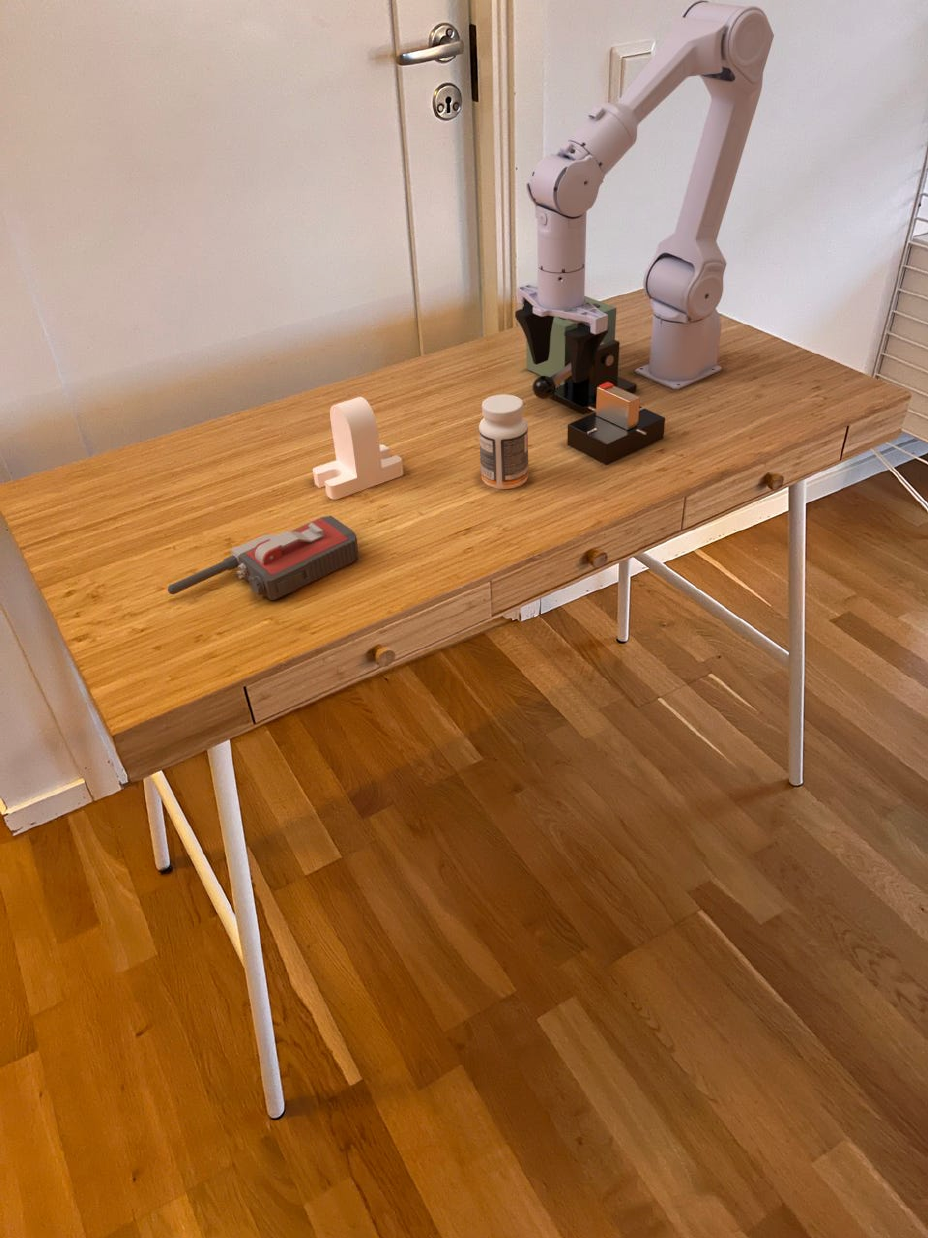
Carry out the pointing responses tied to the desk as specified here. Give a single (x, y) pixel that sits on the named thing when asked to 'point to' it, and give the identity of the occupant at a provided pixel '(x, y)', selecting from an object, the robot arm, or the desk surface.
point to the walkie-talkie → (286, 558)
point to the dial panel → (614, 435)
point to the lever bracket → (593, 380)
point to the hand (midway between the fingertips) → (560, 370)
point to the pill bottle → (503, 442)
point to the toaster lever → (551, 382)
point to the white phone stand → (356, 452)
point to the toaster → (560, 345)
